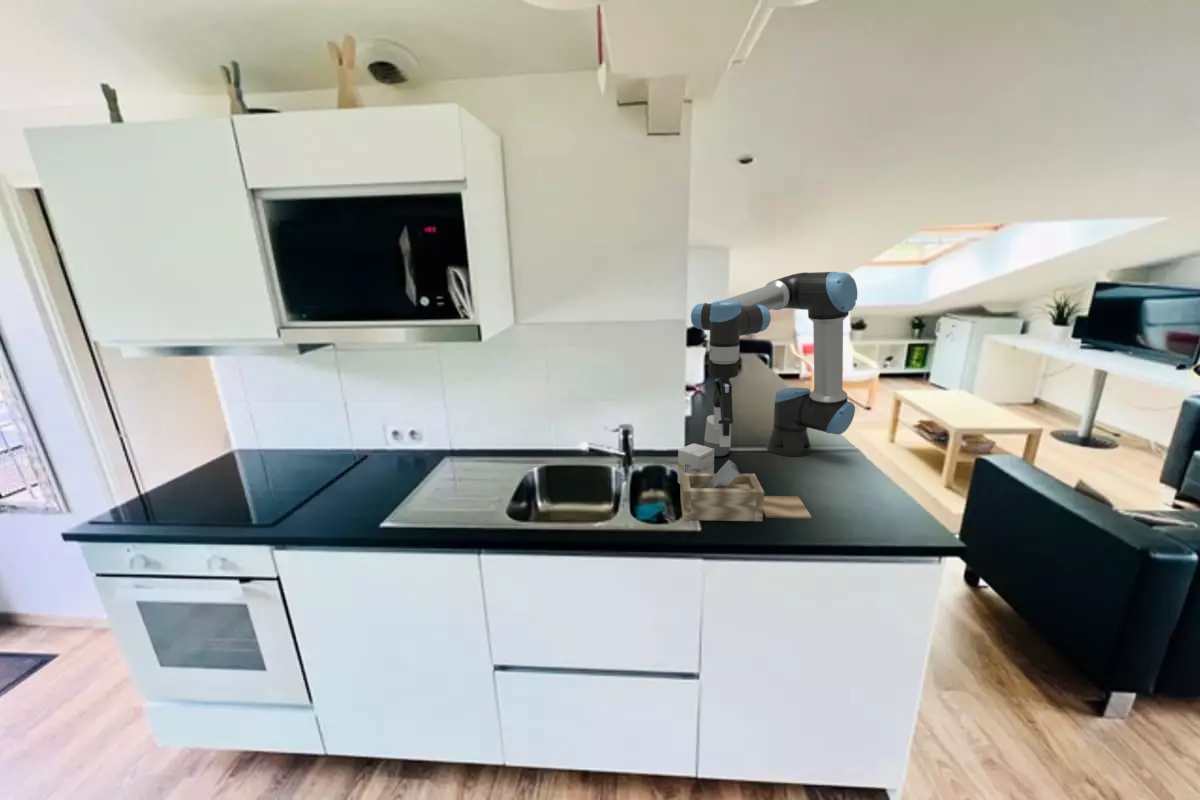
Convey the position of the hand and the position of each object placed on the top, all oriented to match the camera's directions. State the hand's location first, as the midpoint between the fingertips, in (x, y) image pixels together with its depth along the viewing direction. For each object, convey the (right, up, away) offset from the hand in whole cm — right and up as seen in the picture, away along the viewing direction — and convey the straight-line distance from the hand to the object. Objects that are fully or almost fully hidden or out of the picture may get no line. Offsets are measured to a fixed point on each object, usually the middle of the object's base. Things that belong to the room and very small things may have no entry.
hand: (721, 437), depth 132 cm
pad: (+19, -20, +6) cm, 28 cm away
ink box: (-3, -17, +23) cm, 29 cm away
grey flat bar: (0, -15, +4) cm, 15 cm away
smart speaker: (+10, -10, +46) cm, 48 cm away
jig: (+1, -21, +6) cm, 22 cm away
